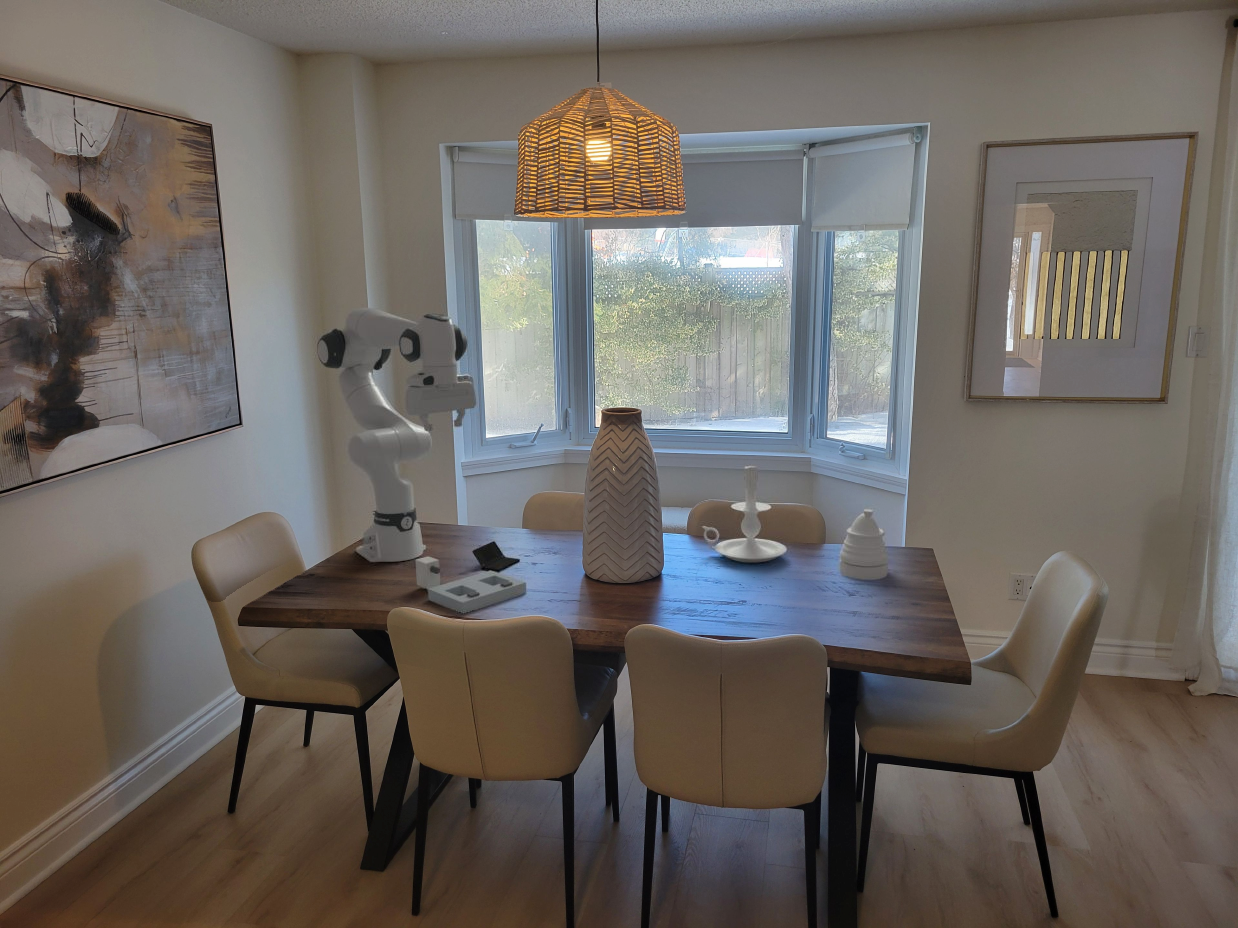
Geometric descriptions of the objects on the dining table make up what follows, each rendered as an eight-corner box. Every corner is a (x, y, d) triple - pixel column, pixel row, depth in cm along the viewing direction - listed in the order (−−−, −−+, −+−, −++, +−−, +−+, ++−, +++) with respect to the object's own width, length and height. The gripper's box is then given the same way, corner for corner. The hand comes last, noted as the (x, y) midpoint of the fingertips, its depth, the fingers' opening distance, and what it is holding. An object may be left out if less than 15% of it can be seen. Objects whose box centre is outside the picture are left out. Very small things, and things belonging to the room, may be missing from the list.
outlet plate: (428, 599, 220) (427, 586, 220) (491, 580, 234) (490, 568, 234) (463, 614, 210) (462, 600, 209) (526, 593, 224) (525, 580, 223)
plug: (417, 588, 229) (415, 559, 228) (430, 584, 232) (428, 556, 231) (432, 594, 224) (430, 564, 223) (444, 590, 227) (443, 561, 226)
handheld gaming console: (506, 567, 241) (486, 537, 242) (487, 581, 243) (468, 552, 244) (523, 561, 252) (504, 533, 253) (505, 574, 254) (486, 546, 255)
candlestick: (710, 544, 264) (710, 455, 259) (791, 551, 256) (793, 459, 251) (693, 564, 245) (693, 468, 240) (780, 572, 237) (782, 473, 232)
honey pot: (895, 578, 230) (898, 513, 227) (849, 580, 229) (851, 515, 226) (876, 563, 243) (879, 502, 239) (832, 566, 242) (834, 504, 238)
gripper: (465, 373, 235) (468, 423, 238) (400, 379, 221) (404, 432, 223) (479, 374, 231) (482, 425, 233) (414, 380, 216) (417, 434, 219)
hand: (443, 428), depth 228 cm, fingers open, 8 cm apart
